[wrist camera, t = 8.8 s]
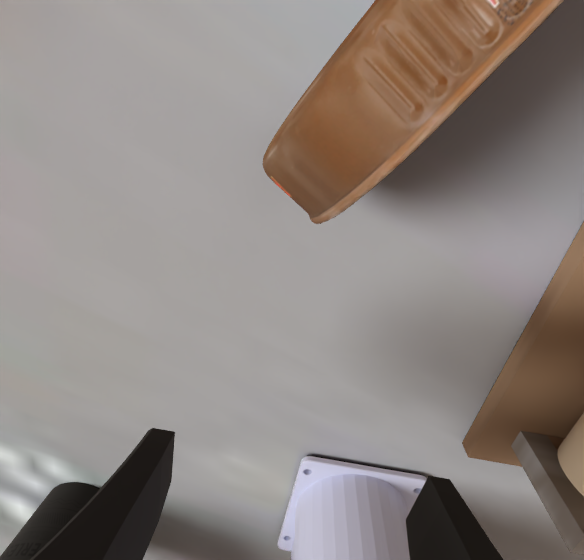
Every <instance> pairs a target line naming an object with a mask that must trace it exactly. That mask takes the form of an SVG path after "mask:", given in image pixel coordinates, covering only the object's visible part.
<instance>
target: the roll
mask: <svg viewBox="0 0 584 560" xmlns="http://www.w3.org/2000/svg"><path fill="white" fill-rule="evenodd" d="M558 460H559V463H560V466H561V468H562V470H563V471H564V473H565V475H566V476H567V478H568V479H569V480H570V482H571V483H572V484H573V485H574V487H575V488H576V489H577V490H578V491H579V492H580V493H581V494H582V495H583V496H584V413H583V414H582V416H581V417H580V418H579V420H578V421H577V423H576V424H575V425H574V427H573V428H572V429H571V431H570V432H569V434H568V435H567V436H566V438H565V439H564V441H563V442H562V443H561V445H560V446H559V448H558Z"/></svg>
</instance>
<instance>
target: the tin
mask: <svg viewBox="0 0 584 560" xmlns="http://www.w3.org/2000/svg"><path fill="white" fill-rule="evenodd" d="M563 1H564V0H375V2H374V3H373V4H372V6H371V7H370V8H369V9H368V11H367V12H366V13H365V14H364V16H363V17H362V18H361V20H360V21H359V22H358V23H357V25H356V26H355V27H354V28H353V30H352V31H351V32H350V33H349V35H348V36H347V37H346V39H345V40H344V41H343V42H342V44H341V45H340V46H339V48H338V49H337V50H336V52H335V53H334V54H333V55H332V57H331V58H330V59H329V61H328V62H327V63H326V65H325V66H324V67H323V69H322V70H321V71H320V73H319V74H318V75H317V77H316V78H315V79H314V81H313V82H312V83H311V85H310V86H309V87H308V89H307V90H306V91H305V93H304V94H303V96H302V97H301V98H300V100H299V101H298V102H297V104H296V105H295V107H294V108H293V109H292V111H291V112H290V114H289V115H288V117H287V118H286V119H285V121H284V122H283V124H282V125H281V127H280V128H279V130H278V131H277V133H276V135H275V136H274V138H273V140H272V141H271V143H270V145H269V146H268V148H267V151H266V153H265V155H264V158H263V168H264V170H265V172H266V174H267V175H268V177H269V178H270V179H271V180H272V181H273V182H274V183H275V184H276V185H278V186H279V187H280V188H281V189H282V190H283V191H284V192H285V193H286V194H287V195H289V196H290V197H291V198H292V199H293V200H294V201H295V202H296V203H297V204H298V205H300V206H301V207H302V208H303V209H304V210H305V211H306V212H307V213H308V214H309V216H310V219H311V221H312V222H314V223H316V224H318V223H320V224H321V223H323V222H326V221H328V220H330V219H332V218H334V217H336V216H337V215H339V214H340V213H341V212H343V211H345V210H346V209H347V208H348V207H350V206H351V205H352V204H354V203H355V202H356V201H357V200H359V199H360V198H361V197H362V196H364V195H365V194H366V193H367V192H369V191H370V190H371V189H372V188H374V187H375V186H376V185H377V184H378V183H380V182H381V181H382V180H383V179H384V178H385V177H387V176H388V175H389V174H390V173H391V172H392V171H393V170H394V169H395V168H396V167H397V166H398V165H399V164H401V163H402V162H403V161H404V160H405V159H406V158H407V157H408V156H409V155H410V154H411V153H413V152H414V151H415V150H416V149H417V148H418V147H419V146H420V144H421V143H423V142H424V141H425V140H426V139H427V138H428V137H429V136H430V135H431V134H432V133H433V132H434V131H435V130H436V129H437V128H438V127H439V126H440V125H441V124H442V123H443V122H444V121H445V120H446V119H447V118H449V116H450V115H451V114H452V113H453V112H454V111H455V110H456V109H457V108H458V107H459V106H460V105H461V104H462V103H463V102H464V101H465V100H466V99H467V98H468V97H469V96H470V95H471V94H472V93H473V92H474V91H475V90H476V89H477V88H478V87H479V86H480V85H481V84H482V83H483V82H484V81H485V80H486V79H487V78H488V77H489V76H490V75H491V74H492V73H493V72H494V71H495V70H496V69H497V68H498V67H499V66H500V65H501V64H502V62H503V61H504V60H505V59H506V58H507V57H509V56H510V55H511V54H512V53H513V52H514V51H515V50H516V49H517V48H518V47H519V46H520V45H521V44H522V43H523V42H524V41H525V40H526V39H527V38H528V37H529V36H530V35H531V34H532V33H533V32H534V31H535V30H536V29H537V28H538V27H539V26H540V25H541V24H542V23H543V22H544V21H545V20H546V19H547V18H548V17H549V16H550V14H551V13H552V12H553V11H554V10H555V9H556V8H557V7H558V6H559V5H560V4H561V3H562V2H563Z"/></svg>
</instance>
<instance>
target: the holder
mask: <svg viewBox="0 0 584 560" xmlns="http://www.w3.org/2000/svg"><path fill="white" fill-rule="evenodd" d="M583 413H584V222H583V224H582V226H581V227H580V229H579V231H578V233H577V235H576V237H575V238H574V240H573V242H572V244H571V246H570V247H569V249H568V251H567V253H566V255H565V257H564V258H563V260H562V262H561V264H560V266H559V267H558V269H557V271H556V273H555V275H554V277H553V278H552V280H551V282H550V284H549V286H548V287H547V289H546V291H545V293H544V295H543V297H542V298H541V300H540V302H539V304H538V306H537V307H536V309H535V311H534V313H533V315H532V317H531V318H530V320H529V322H528V324H527V326H526V327H525V329H524V331H523V333H522V335H521V337H520V338H519V340H518V342H517V344H516V346H515V347H514V349H513V351H512V353H511V355H510V357H509V358H508V360H507V362H506V364H505V366H504V367H503V369H502V371H501V373H500V375H499V377H498V378H497V380H496V382H495V384H494V386H493V387H492V389H491V391H490V393H489V395H488V397H487V398H486V400H485V402H484V404H483V406H482V407H481V409H480V411H479V413H478V415H477V417H476V418H475V420H474V422H473V424H472V426H471V427H470V429H469V431H468V433H467V435H466V437H465V438H464V440H463V442H462V444H463V446H464V448H465V451H466V453H467V456H468V457H470V458H476V459H482V460H487V461H493V462H499V463H504V464H510V465H516V466H521V467H523V468H524V470H525V472H526V474H527V476H528V477H529V479H530V481H531V483H532V485H533V486H534V488H535V490H536V492H537V494H538V495H539V497H540V499H541V501H542V503H543V504H544V506H545V508H546V510H547V512H548V513H549V515H550V517H551V519H552V521H553V522H554V524H555V526H556V528H557V529H558V531H559V533H560V535H561V537H562V538H563V540H564V542H565V544H566V546H567V547H568V549H569V551H570V552H571V553H577V554H583V555H584V496H583V495H582V494H581V493H580V492H579V491H578V490H577V489H576V488H575V487H574V485H573V484H572V483H571V482H570V480H569V479H568V478H567V476H566V475H565V473H564V471H563V470H562V468H561V466H560V463H559V460H558V448H559V446H560V445H561V443H562V442H563V441H564V439H565V438H566V436H567V435H568V434H569V432H570V431H571V429H572V428H573V427H574V425H575V424H576V423H577V421H578V420H579V418H580V417H581V416H582V414H583Z"/></svg>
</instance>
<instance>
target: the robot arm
mask: <svg viewBox="0 0 584 560" xmlns="http://www.w3.org/2000/svg"><path fill="white" fill-rule="evenodd" d="M174 436H175V432H172V431H167V430H161V429H155V428H152V429H150V430H149V431H148V432H147V433H146V435H145V436H144V437H143V439H142V440H141V441H140V443H139V444H138V445H137V446H136V448H135V449H134V450H133V451H132V453H131V454H130V455H129V456H128V458H127V459H126V460H125V461H124V462H123V463H122V465H121V466H120V467H119V468H118V469H117V471H116V472H115V473H114V474H113V475H112V476H111V477H110V478H109V480H108V481H107V482H106V483H105V484H104V485H103V486H102V487H101V488H100V490H99V491H98V492H97V493H96V494H95V495H94V496H93V497H92V498H91V499H90V500H89V502H88V503H87V504H86V505H85V506H84V507H83V508H82V509H81V510H80V511H79V512H78V513H77V514H76V515H75V516H74V517H73V518H72V519H71V520H70V521H69V522H68V523H67V524H66V525H65V526H64V527H63V528H62V529H61V530H60V531H59V532H58V533H57V534H56V535H55V536H54V537H53V538H52V539H51V540H50V541H49V542H48V543H47V544H46V545H45V546H44V547H43V548H42V549H41V550H39V551H38V552H37V553H36V554H35V555H34V556H33V557H32V558H31V559H30V560H142V559H143V557H144V555H145V552H146V550H147V548H148V545H149V543H150V540H151V538H152V536H153V533H154V531H155V528H156V526H157V523H158V521H159V518H160V515H161V512H162V509H163V506H164V502H165V499H166V496H167V493H168V489H169V486H170V483H171V478H172V464H173V450H174ZM278 547H279V548H280V549H281V550H286V551H291V560H503V558H502V557H501V556H500V554H499V553H498V551H497V550H496V548H495V547H494V545H493V544H492V543H491V541H490V540H489V538H488V537H487V535H486V534H485V532H484V531H483V529H482V528H481V526H480V525H479V523H478V522H477V520H476V519H475V517H474V516H473V514H472V513H471V511H470V509H469V508H468V506H467V505H466V503H465V502H464V500H463V499H462V497H461V496H460V494H459V493H458V491H457V490H456V488H455V487H454V485H453V484H452V482H451V481H450V479H444V478H438V477H433V476H428V478H426V477H425V476H422V475H417V474H411V473H405V472H400V471H394V470H388V469H382V468H377V467H371V466H365V465H359V464H353V463H348V462H342V461H336V460H330V459H324V458H319V457H313V456H306V457H304V458H302V460H301V463H300V467H299V470H298V473H297V477H296V480H295V484H294V487H293V491H292V494H291V497H290V501H289V504H288V508H287V511H286V514H285V518H284V521H283V525H282V528H281V532H280V535H279V538H278Z"/></svg>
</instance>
